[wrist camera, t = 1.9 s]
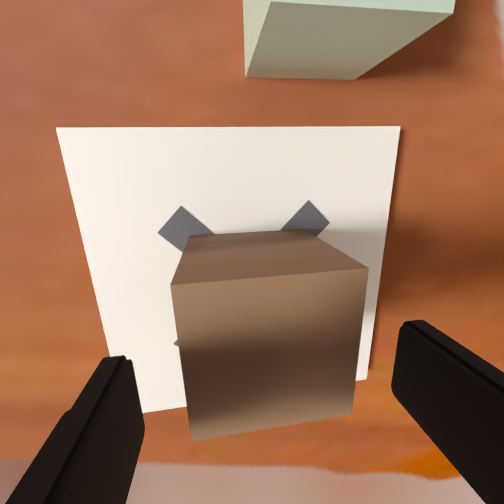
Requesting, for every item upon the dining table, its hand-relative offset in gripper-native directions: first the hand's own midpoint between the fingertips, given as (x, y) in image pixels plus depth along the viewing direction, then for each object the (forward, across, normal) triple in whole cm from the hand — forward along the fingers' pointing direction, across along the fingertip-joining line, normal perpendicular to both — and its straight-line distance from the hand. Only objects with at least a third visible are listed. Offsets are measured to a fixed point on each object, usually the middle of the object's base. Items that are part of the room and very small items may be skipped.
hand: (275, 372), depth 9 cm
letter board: (+7, 0, -1) cm, 7 cm away
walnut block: (+6, 0, -1) cm, 6 cm away
